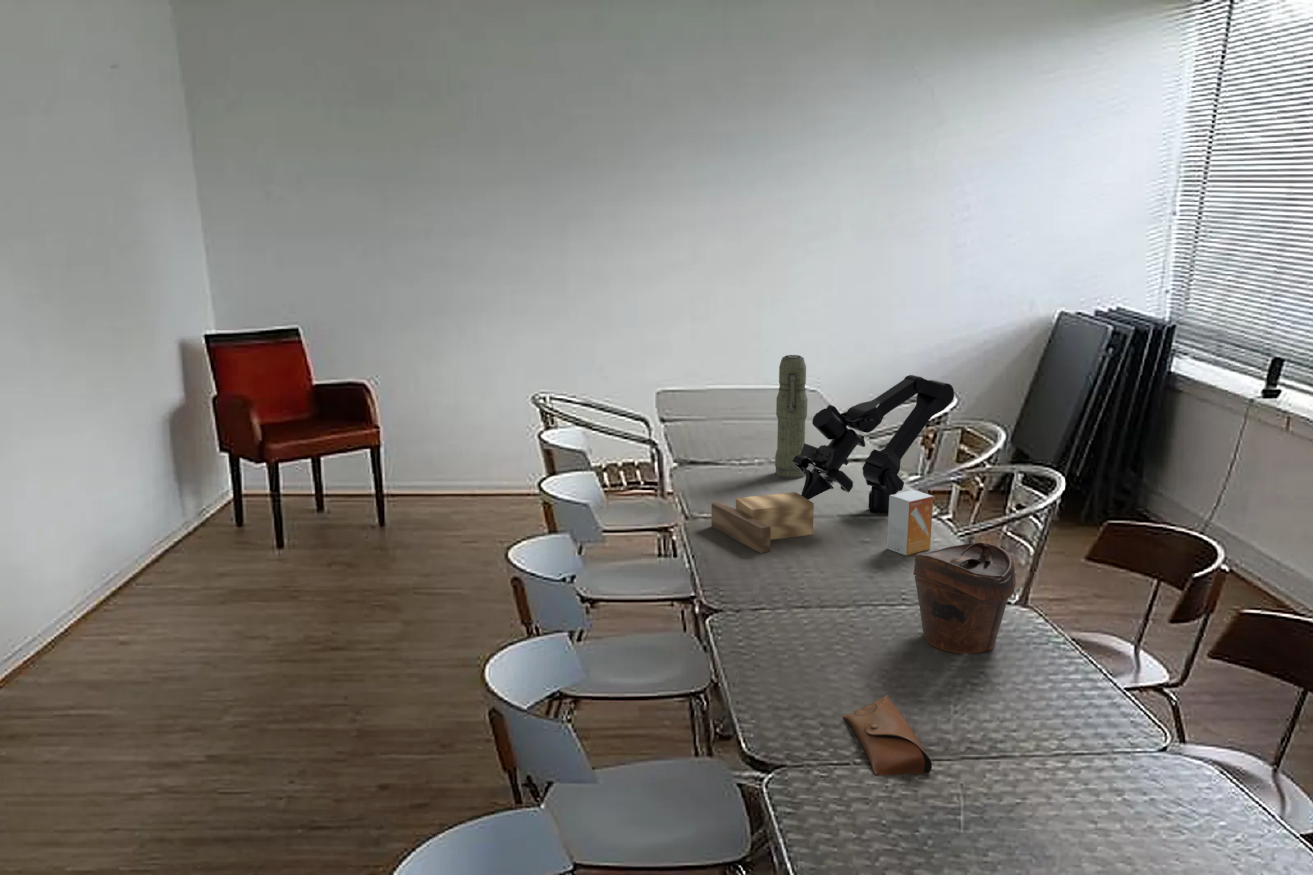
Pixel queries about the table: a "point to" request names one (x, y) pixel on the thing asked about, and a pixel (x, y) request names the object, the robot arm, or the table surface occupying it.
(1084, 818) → the table surface
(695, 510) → the table surface
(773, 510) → the oak block
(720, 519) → the walnut board
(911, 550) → the small box
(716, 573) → the table surface
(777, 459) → the thermos
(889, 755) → the sunglasses case
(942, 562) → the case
